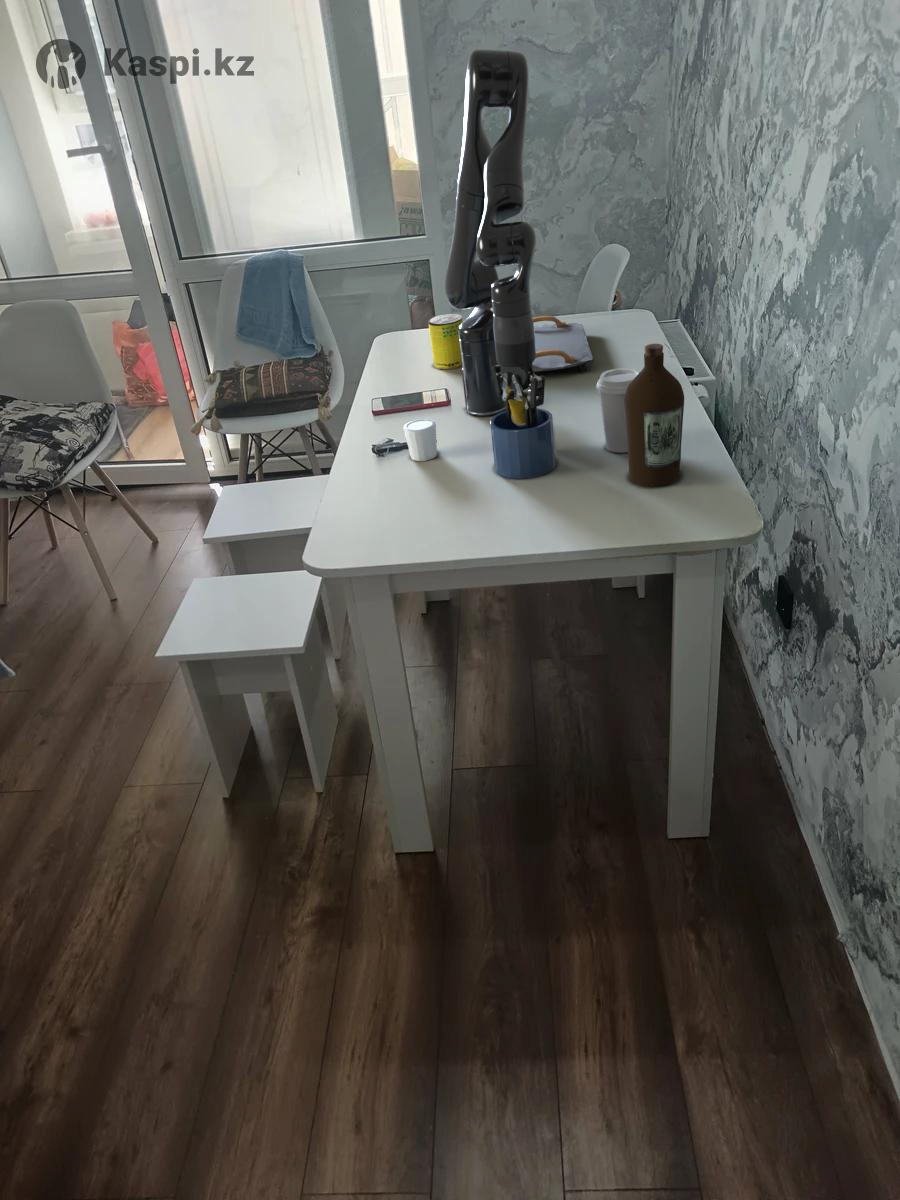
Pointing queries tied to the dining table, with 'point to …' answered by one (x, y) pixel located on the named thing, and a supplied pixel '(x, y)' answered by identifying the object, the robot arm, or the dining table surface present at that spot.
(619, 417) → the coffee cup
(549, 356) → the serving tray
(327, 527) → the dining table surface
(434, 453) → the white cylinder
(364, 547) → the dining table surface
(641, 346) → the dining table surface
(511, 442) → the cup
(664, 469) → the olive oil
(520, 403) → the drill bit
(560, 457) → the dining table surface
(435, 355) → the yellow can
